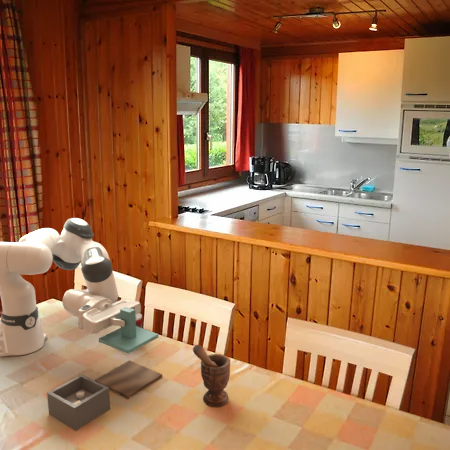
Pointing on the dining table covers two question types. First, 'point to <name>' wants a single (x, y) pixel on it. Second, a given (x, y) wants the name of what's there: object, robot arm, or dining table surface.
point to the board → (129, 379)
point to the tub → (78, 401)
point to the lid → (128, 334)
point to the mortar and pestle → (214, 376)
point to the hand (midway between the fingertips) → (130, 321)
